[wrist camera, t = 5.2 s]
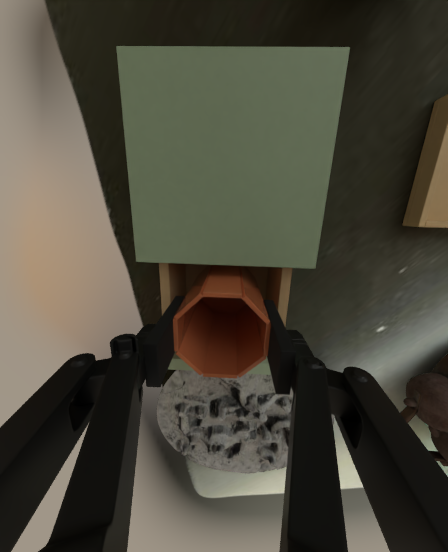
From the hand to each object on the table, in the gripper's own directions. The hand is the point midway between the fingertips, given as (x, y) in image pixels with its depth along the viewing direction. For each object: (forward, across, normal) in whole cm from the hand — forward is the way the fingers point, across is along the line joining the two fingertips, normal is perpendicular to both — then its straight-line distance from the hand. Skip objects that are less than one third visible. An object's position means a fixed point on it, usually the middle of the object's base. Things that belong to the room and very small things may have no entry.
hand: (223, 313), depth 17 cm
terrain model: (+9, +3, -20) cm, 22 cm away
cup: (+6, 0, 0) cm, 6 cm away
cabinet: (+8, 0, +10) cm, 13 cm away
